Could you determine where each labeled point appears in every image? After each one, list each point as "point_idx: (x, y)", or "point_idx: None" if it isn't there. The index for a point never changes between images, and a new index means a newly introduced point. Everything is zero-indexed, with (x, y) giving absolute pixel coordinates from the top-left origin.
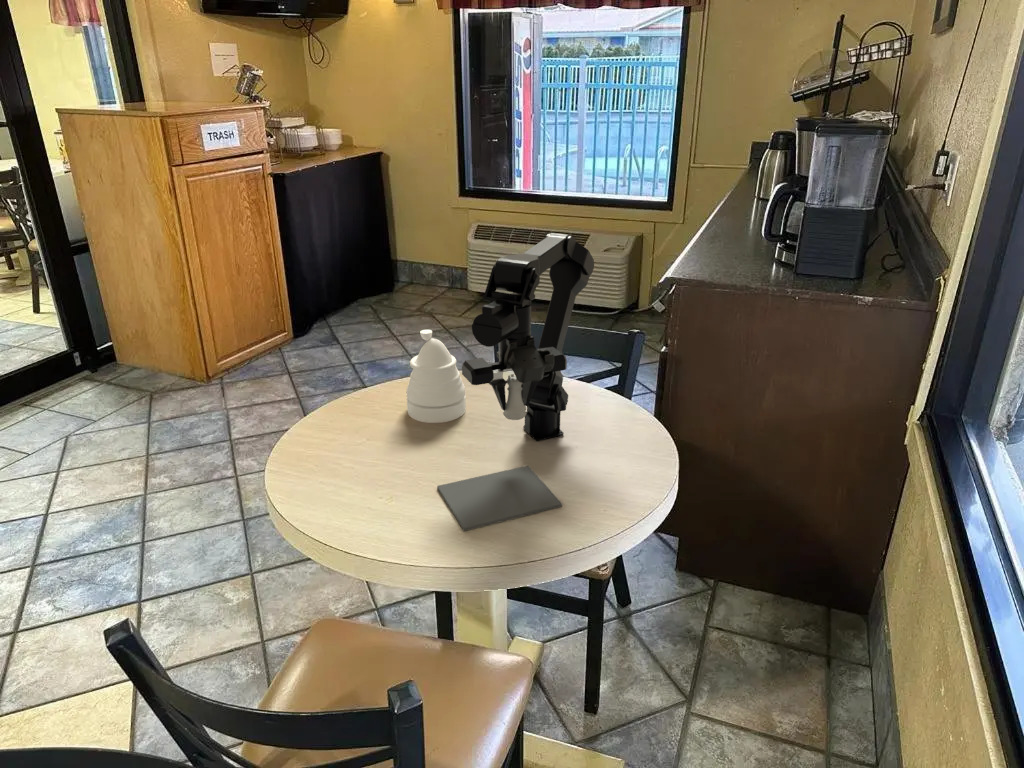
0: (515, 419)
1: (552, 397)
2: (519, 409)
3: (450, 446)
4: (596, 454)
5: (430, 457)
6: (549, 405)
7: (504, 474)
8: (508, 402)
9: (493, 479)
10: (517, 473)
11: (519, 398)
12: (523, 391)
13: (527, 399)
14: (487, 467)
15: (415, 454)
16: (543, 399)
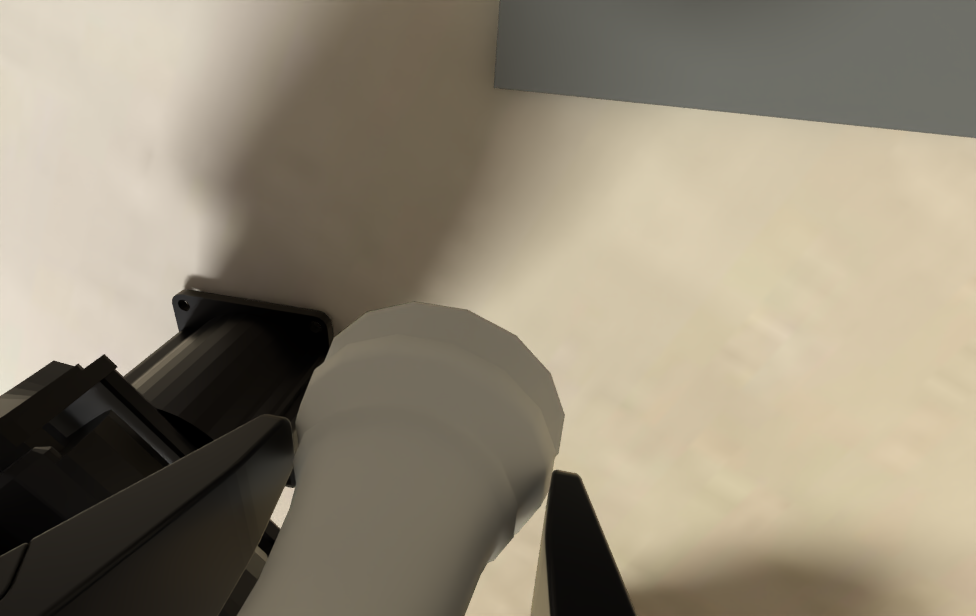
0: (485, 320)
1: (21, 446)
2: (399, 383)
3: (738, 488)
4: (57, 21)
5: (904, 463)
6: (107, 412)
7: (697, 60)
8: (487, 542)
9: (809, 35)
10: (612, 24)
11: (325, 520)
12: (208, 611)
13: (223, 470)
14: (709, 223)
15: (945, 520)
16: (107, 467)
